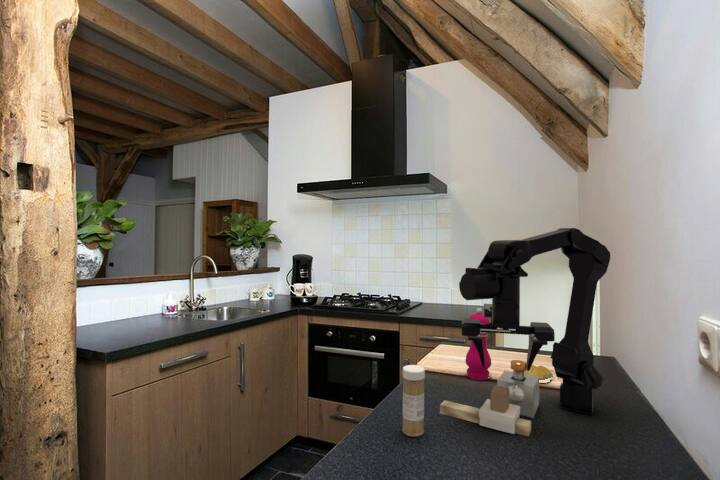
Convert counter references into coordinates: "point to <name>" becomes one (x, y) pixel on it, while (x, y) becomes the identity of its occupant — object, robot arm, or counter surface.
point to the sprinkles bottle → (413, 400)
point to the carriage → (499, 411)
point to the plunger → (518, 369)
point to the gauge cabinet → (522, 392)
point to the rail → (473, 416)
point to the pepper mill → (473, 357)
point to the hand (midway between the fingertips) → (505, 368)
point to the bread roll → (539, 372)
